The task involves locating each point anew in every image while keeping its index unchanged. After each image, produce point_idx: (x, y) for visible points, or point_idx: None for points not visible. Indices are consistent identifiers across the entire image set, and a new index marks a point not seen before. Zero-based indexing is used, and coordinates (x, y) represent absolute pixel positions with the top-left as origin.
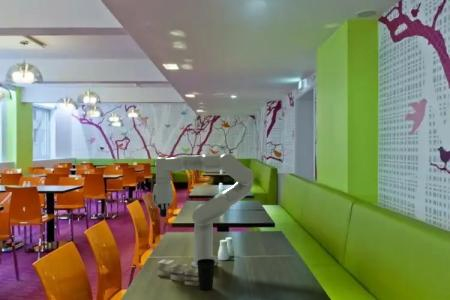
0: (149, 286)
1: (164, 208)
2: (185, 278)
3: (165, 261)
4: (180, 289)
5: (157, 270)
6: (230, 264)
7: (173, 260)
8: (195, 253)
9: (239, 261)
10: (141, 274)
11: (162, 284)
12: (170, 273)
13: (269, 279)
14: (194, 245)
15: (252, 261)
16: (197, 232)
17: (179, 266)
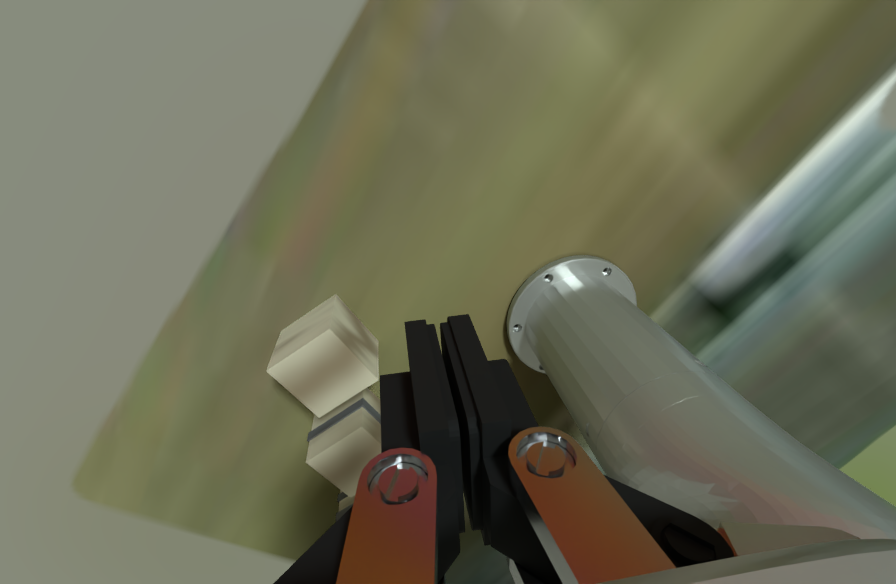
0: (187, 447)
1: (486, 532)
2: (341, 506)
3: (323, 372)
4: (299, 516)
5: (277, 344)
6: None
7: (375, 377)
8: (547, 355)
9: (727, 352)
10: (197, 278)
11: (253, 450)
12: (309, 437)
13: None
14: (572, 367)
15: (759, 379)
16: (614, 479)
17: (350, 474)
